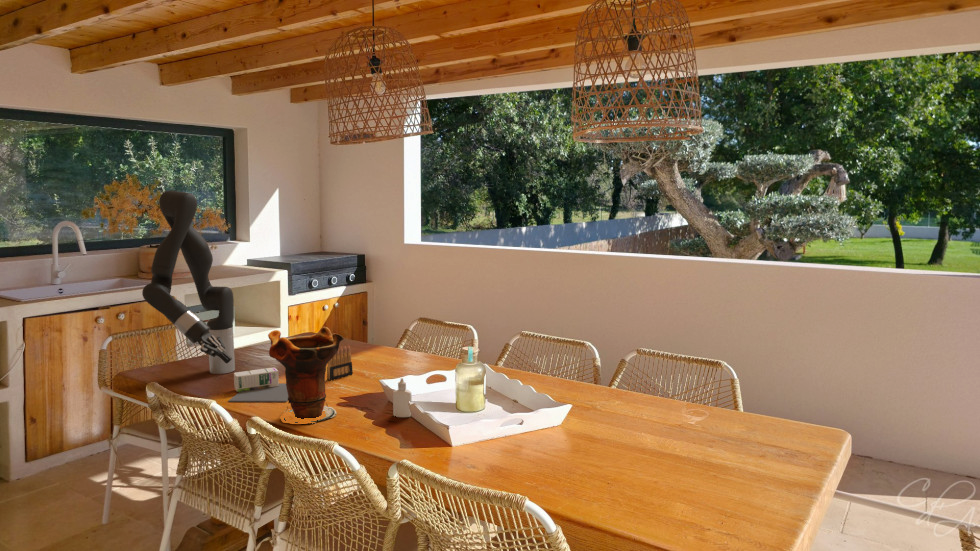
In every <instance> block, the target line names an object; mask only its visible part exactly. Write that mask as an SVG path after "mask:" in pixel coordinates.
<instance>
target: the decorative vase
mask: <svg viewBox="0 0 980 551" xmlns="http://www.w3.org/2000/svg"><path fill="white" fill-rule="evenodd" d="M281 334H282V333H281V331H280V330H278V329H274V330H272V331H270V332H269V333H268V335H267V337H268V339H269V340H270V348H269V350H268V355H269V357H271V358H272V359H274V360H276V361H277V362H279V363H280V364H281V365H282V366H283V367H284V369H285V370H284V376H285V383H286V387H287V392H288V401H287V402H288V405H289V404H290V407H291V409H292V410H290V409H289V410H290V411H289V412H292V411H293V412H294V414H295V417H297V418H301V419H304V418H316V417H319V416H321V415H322V412H323V411H325V414H326V417H324V418H323V419H321V420H318V422H319V421H325V420H327V419H332V418H333V417H336V416H337V411H336V408H333V407H332V406H328V403H327V402H326V398H327V393H326V373H327V366H328V362H329V361H330V360H331V359H332V358H333V357H334V356H336V353H337V351H338V349H339V350H340V343H341V342H342V341H343V340H344V339H345V337H343V336H342V335H341V334H339V333H334V332H333V333H332V332H331V330H330V328H328V327H326V326H323V327H321V328H319V331H317V332H316V333H315V334H312V335H304V336H303V335H301V336H293V337H287V338H286V337H284V336H283V337H282V336H281ZM325 404H326V405H325ZM286 408H287V409H288V408H289V406H287V407H286ZM285 411H286V412H287V411H288V410H285ZM284 420H285V418H284ZM285 421H286V420H285ZM311 422H317V421H311ZM318 422H317V423H318ZM295 423H298V422H295Z"/></svg>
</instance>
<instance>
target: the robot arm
mask: <svg viewBox="0 0 980 551" xmlns="http://www.w3.org/2000/svg"><path fill="white" fill-rule="evenodd" d="M158 201H159V205H158V206H159V209H160V211H161V214H162V215H163V217H164V219H165V220H166V223H167V224H168V226H169V227H170V231H169V233H168V234H167V235H166V237H165V238H163V240H162V241H161V242H160V243H159V245H158V246H157V248H156V250H155V252H154V256H153V261H152V264H151V269H150V272H151V276H152V277H151V281H150V283H148V284H146V285H145V286H144V287H143V289H142V292H141V293H142V294H141V295H142V297H143V299H144V300H145V302H146V303H147V304H149V305H150V306H151V307H152V308H154V309H155V310H157V311H158V312H159V313H161V314H162V315H164V317H165V318H166V319H167V320H169V322H171V324H173V325H174V326H175V327H176V329H178V331H179V332H180V333H181V334H183V336H185V337H186V338H187V339H188V340H189V341H190V342H191V343H192V344H196V343H198V345H199V346H201V348H200V349H199V350H200V352H203V353H205V354H207V355H208V364H209V373H210V374H214V375H223V374H229V373H232V372H233V373H234V371H235V370H236V362H235V361H236V360H235V342H234V339H235V338H234V327H233V326H234V324H233V322H234V313H235V312H234V309H235V308H234V302H235V300H234V293H233V290H232V289H231V288H230V287H229V286H213V285H212V284H211V282H210V279H209V278H210V277H209V273H210V270H211V269H212V266H213V261H214V260H213V258H214V257H213V254H212V251H211V249H210V247H209V244H208V243H207V241H206V239H205V238H204V237H203V235H202V234H200V232H199V231H197V229H195V228H194V226H193V225H192V222H193V220H194V218H195V215H196V213H197V210H198V209H197V208H198V200H197V198H196V196H194V195H193V194H192V193H189V192H185V191H184V192H183V191H179V190H178V191H177V190H165V191H163V192H162V193H161V194H160V196H159V200H158ZM180 251H181V255H182V256H183V258H184V261H185V263H186V264H187V267H188V269H189V270H188V271H189V272H190V275H191V277H192V280H193V282H194V285H195V288H196V291H197V295H198V298H199V301H200V304H201V306H202V308H203V309H204V310H206V311H217V312H218V316H217V317H215V318H212V319H210V320H208V321H207V323H206V322H205V321H204V320H202V319H201V318H200V317H199V315H197V314H196V313H195V312H193V311H192V310H190V309H189V308H188V307H187V306H186V304H184V303H183V302H181V301H180V300H178V299H176V298H175V297H174V296H173V295H171V291H172V286H173V284H172V283H173V274H174V270H175V269H176V264H177V260H178V257H179V253H180Z"/></svg>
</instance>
